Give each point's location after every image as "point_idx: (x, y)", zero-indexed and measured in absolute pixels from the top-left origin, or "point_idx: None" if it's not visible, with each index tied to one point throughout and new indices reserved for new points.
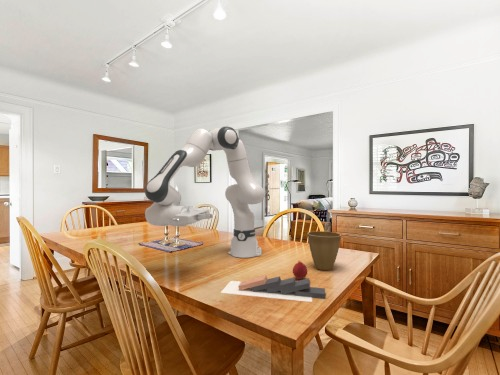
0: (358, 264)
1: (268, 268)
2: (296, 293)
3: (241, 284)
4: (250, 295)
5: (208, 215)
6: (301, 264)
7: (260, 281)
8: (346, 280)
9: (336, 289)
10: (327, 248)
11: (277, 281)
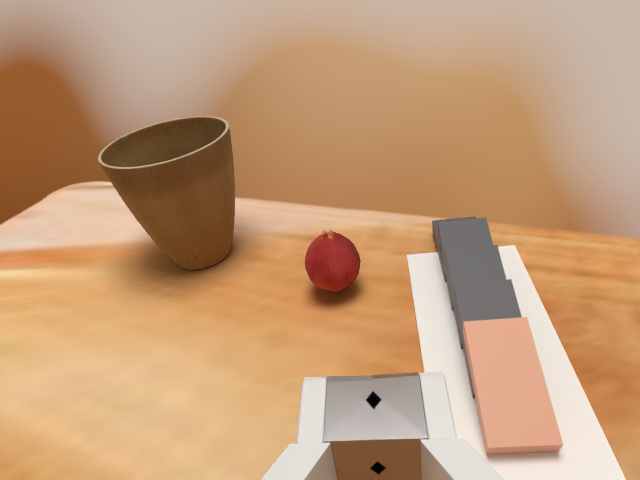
0: None
1: (202, 408)
2: None
3: (543, 430)
4: (582, 393)
5: (444, 393)
6: (339, 234)
7: (530, 333)
8: (314, 210)
9: (390, 220)
10: (233, 168)
11: (511, 281)
